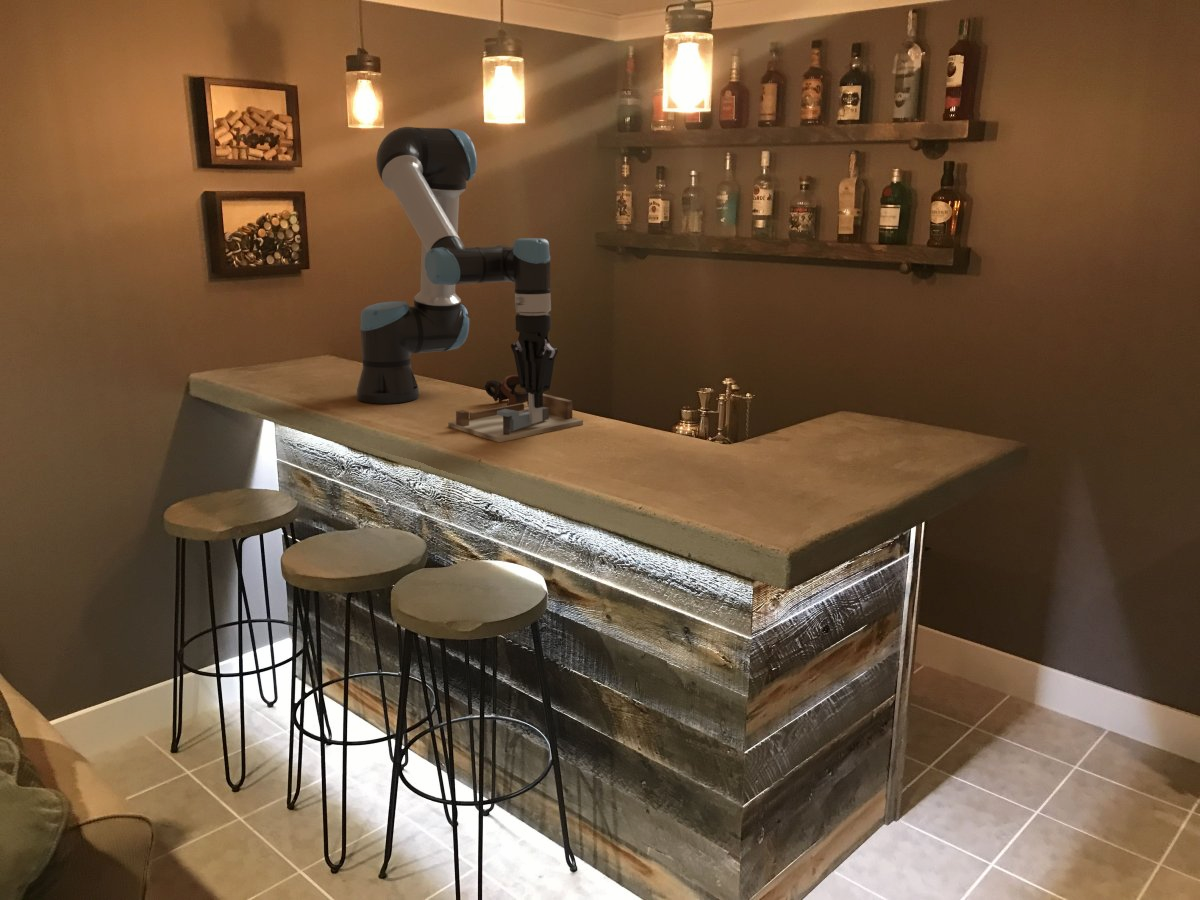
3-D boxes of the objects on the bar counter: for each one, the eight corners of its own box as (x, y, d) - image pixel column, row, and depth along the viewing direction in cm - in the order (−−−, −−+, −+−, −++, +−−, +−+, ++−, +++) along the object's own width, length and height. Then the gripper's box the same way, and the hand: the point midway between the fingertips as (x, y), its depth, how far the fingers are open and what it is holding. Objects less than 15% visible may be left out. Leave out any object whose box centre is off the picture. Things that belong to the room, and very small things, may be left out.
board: (448, 426, 215) (447, 404, 213) (531, 410, 231) (531, 389, 229) (498, 442, 202) (498, 419, 201) (582, 424, 218) (583, 402, 217)
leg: (508, 434, 203) (507, 413, 202) (497, 432, 204) (496, 411, 203) (550, 419, 216) (550, 399, 215) (540, 417, 218) (540, 397, 217)
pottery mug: (531, 401, 243) (538, 376, 237) (525, 425, 236) (533, 400, 230) (484, 389, 241) (490, 364, 236) (477, 413, 234) (483, 388, 229)
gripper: (500, 312, 207) (503, 419, 213) (539, 317, 198) (541, 429, 204) (527, 309, 212) (529, 414, 218) (566, 314, 203) (567, 423, 209)
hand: (535, 421), depth 211 cm, fingers closed
